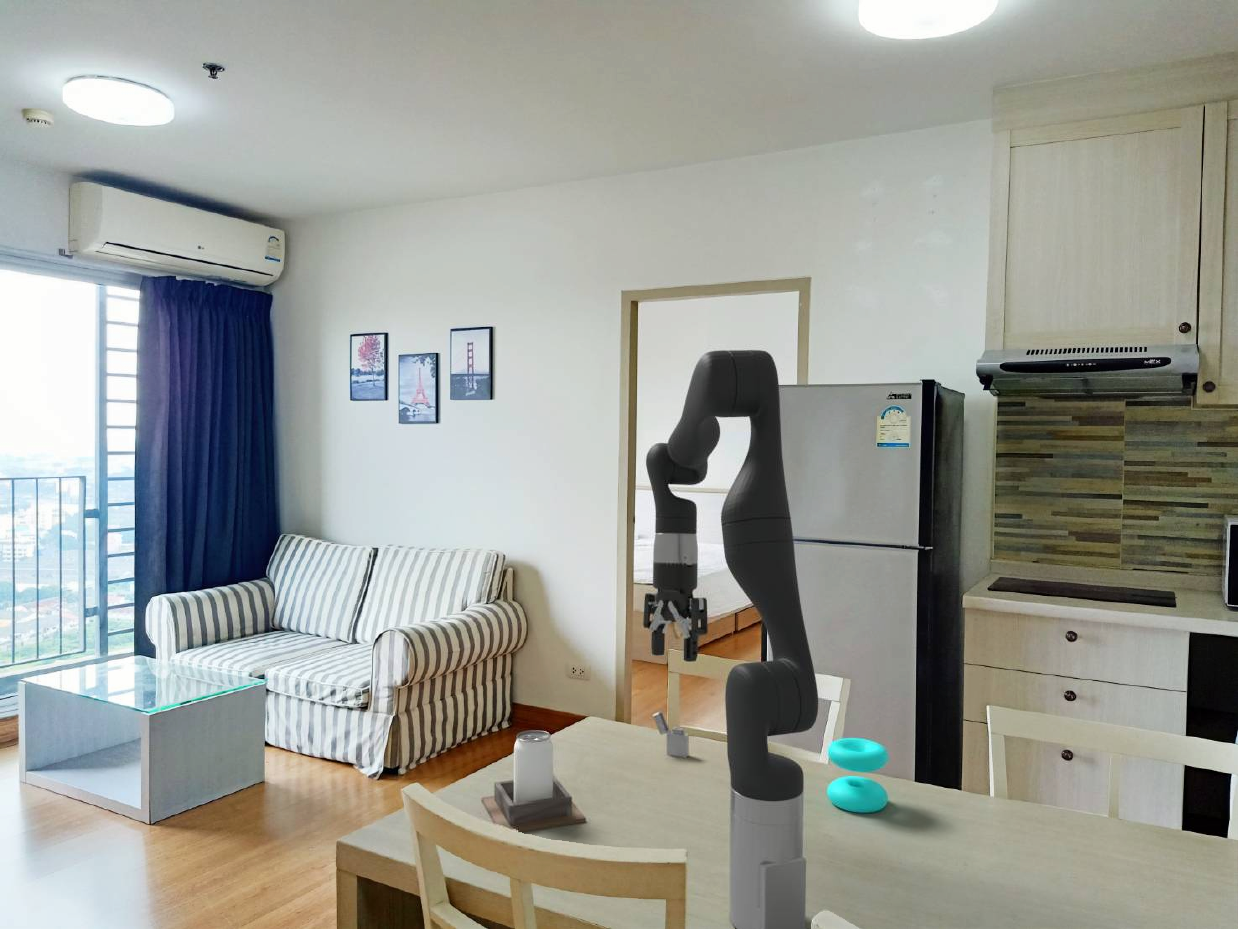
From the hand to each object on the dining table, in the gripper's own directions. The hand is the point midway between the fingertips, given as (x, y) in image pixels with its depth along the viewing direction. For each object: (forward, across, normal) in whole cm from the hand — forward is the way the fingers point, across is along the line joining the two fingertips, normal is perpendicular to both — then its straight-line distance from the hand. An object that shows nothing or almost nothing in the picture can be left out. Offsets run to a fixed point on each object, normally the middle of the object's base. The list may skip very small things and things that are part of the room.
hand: (673, 658), depth 146 cm
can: (+25, -14, -18) cm, 34 cm away
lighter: (+22, -23, +18) cm, 37 cm away
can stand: (+26, -14, -18) cm, 35 cm away
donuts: (+25, +14, +30) cm, 41 cm away
